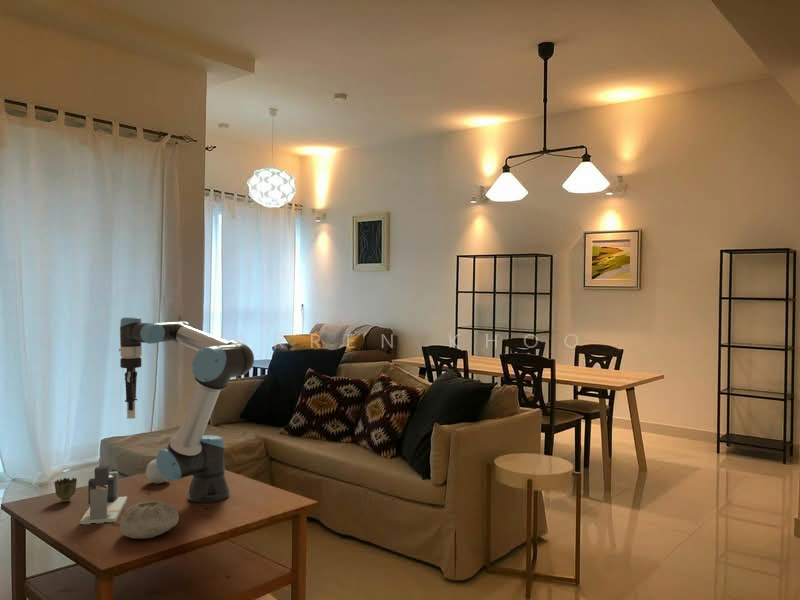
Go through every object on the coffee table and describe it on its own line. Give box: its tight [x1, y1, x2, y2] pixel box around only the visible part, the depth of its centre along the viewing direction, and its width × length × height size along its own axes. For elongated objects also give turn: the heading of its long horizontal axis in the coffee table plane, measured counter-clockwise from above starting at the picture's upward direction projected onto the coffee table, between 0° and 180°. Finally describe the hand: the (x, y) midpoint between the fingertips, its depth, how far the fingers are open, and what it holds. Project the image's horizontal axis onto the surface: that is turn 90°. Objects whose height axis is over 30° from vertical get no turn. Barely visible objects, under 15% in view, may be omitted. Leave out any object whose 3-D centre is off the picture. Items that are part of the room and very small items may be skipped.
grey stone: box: [119, 500, 180, 540], centre depth 207 cm, size 18×18×10 cm
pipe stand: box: [79, 471, 128, 525], centre depth 228 cm, size 24×11×11 cm, turn 14°
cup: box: [53, 477, 78, 504], centre depth 239 cm, size 8×7×8 cm
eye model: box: [145, 458, 167, 484], centre depth 262 cm, size 10×10×10 cm
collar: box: [87, 465, 115, 505], centre depth 223 cm, size 3×8×12 cm, turn 104°
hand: (131, 418), depth 248 cm, fingers closed
